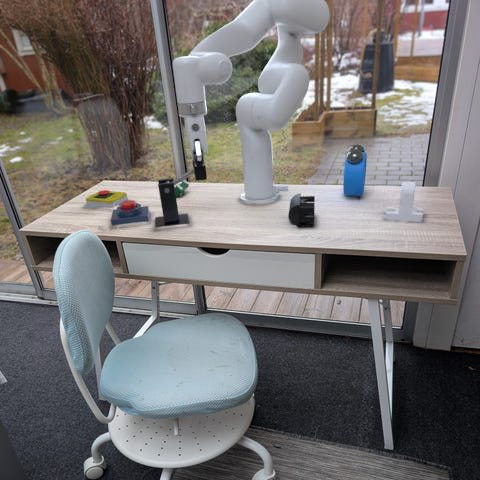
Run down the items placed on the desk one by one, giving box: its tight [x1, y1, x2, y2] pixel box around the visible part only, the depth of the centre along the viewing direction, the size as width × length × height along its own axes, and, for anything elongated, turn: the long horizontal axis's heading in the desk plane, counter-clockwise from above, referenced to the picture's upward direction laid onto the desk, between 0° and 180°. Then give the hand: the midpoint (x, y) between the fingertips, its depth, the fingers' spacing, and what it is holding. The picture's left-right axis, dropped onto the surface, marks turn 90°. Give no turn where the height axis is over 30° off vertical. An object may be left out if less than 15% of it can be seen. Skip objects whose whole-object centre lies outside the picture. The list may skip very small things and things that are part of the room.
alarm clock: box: [342, 143, 368, 200], centre depth 148 cm, size 13×6×15 cm, turn 164°
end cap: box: [288, 192, 316, 229], centre depth 135 cm, size 10×7×7 cm
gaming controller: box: [175, 179, 190, 197], centre depth 164 cm, size 9×4×6 cm
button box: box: [110, 202, 150, 226], centre depth 146 cm, size 11×9×4 cm
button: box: [121, 199, 137, 210], centre depth 144 cm, size 4×4×2 cm
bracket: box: [154, 177, 190, 228], centre depth 139 cm, size 10×8×13 cm
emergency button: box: [83, 189, 129, 210], centre depth 160 cm, size 9×4×15 cm
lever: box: [165, 167, 195, 186], centre depth 136 cm, size 13×6×2 cm, turn 98°
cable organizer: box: [384, 181, 425, 223], centre depth 131 cm, size 5×10×10 cm, turn 70°
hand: (200, 176), depth 136 cm, fingers closed on lever, 5 cm apart
